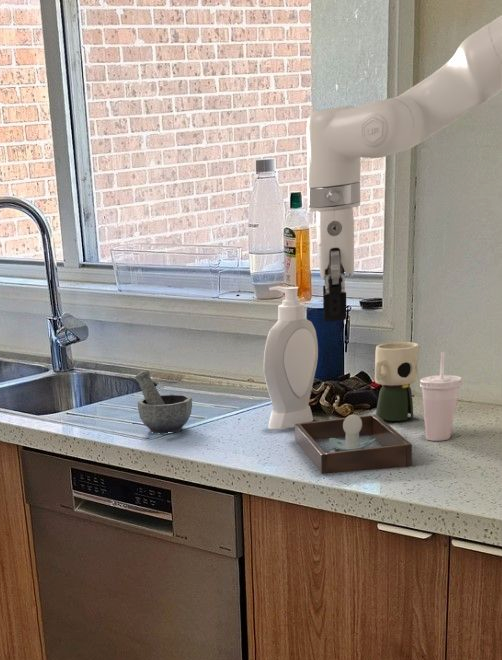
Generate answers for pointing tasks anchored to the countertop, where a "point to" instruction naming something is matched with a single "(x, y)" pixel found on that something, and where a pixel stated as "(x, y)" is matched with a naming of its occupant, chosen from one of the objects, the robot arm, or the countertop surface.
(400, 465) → the crate
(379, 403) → the character mug
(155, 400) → the mortar and pestle
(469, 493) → the countertop surface
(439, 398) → the smoothie
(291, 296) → the soap bottle
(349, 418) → the pacifier
